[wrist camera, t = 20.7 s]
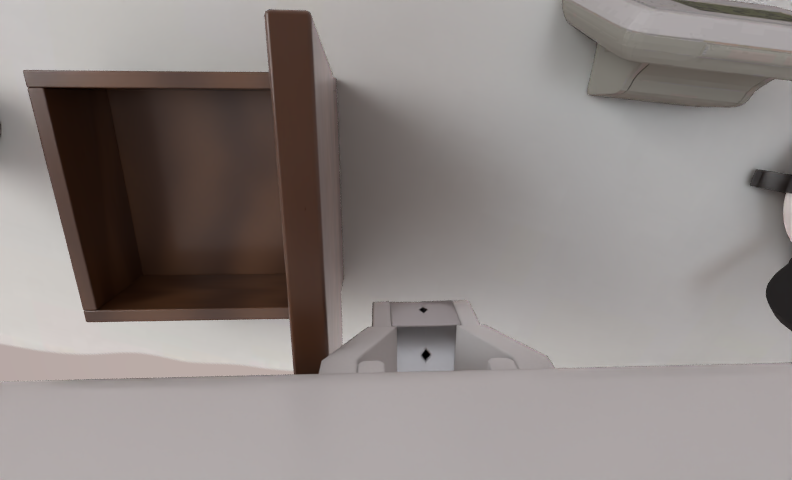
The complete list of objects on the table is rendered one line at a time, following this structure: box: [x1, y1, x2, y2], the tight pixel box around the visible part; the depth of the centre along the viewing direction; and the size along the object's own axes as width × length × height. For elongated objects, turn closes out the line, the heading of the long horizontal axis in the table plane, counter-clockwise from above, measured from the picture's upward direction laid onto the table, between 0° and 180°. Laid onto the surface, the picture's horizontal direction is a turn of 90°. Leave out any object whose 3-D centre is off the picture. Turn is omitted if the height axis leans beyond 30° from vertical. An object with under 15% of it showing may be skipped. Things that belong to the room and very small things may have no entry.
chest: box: [23, 70, 344, 322], centre depth 30 cm, size 17×16×7 cm
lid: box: [264, 9, 342, 374], centre depth 18 cm, size 18×16×1 cm
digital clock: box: [563, 0, 792, 107], centre depth 26 cm, size 16×9×11 cm, turn 73°
